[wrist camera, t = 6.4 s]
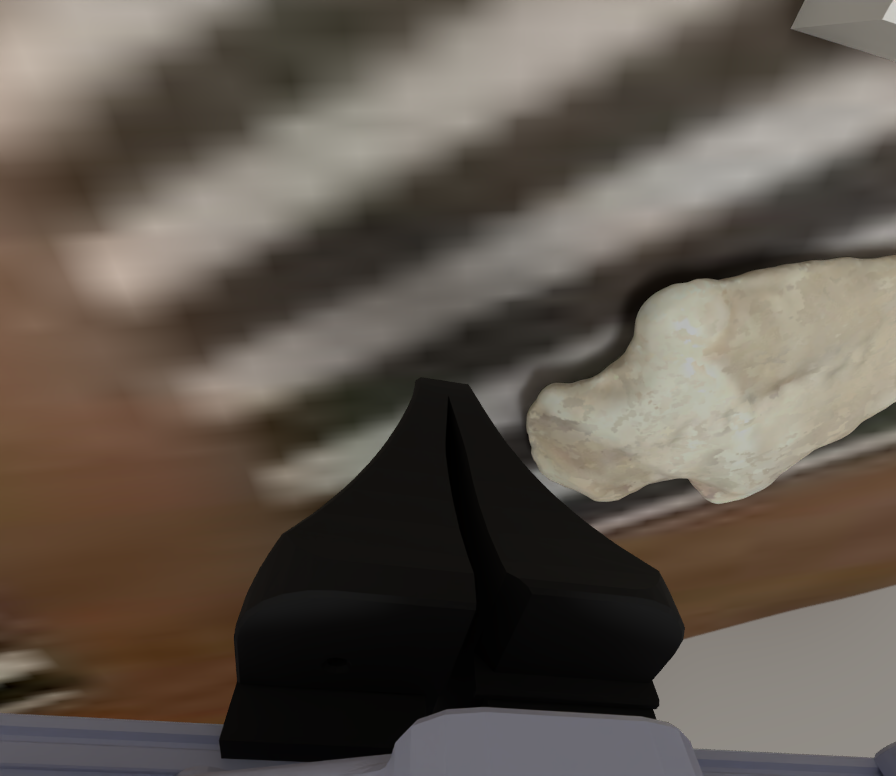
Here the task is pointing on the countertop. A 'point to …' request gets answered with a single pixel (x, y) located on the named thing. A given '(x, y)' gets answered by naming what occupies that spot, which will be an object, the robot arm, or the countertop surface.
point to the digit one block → (852, 24)
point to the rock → (727, 382)
